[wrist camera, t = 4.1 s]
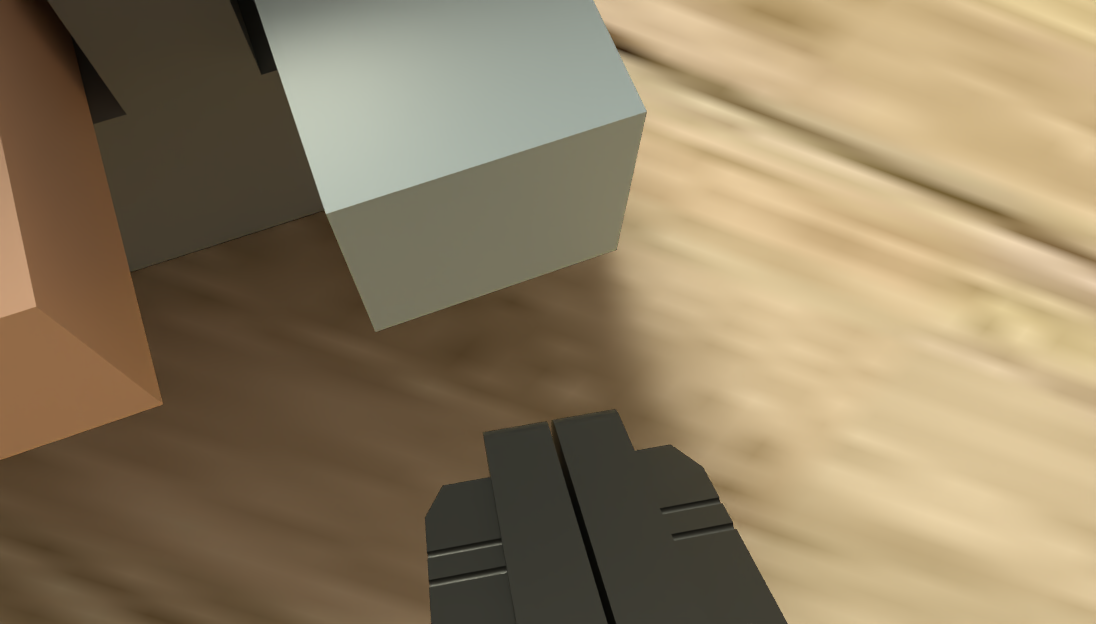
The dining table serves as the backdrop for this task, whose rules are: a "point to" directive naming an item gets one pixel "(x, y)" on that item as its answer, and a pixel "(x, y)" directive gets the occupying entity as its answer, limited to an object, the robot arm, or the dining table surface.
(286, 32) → the grey rectangular block
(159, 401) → the terracotta key
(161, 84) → the keypad console
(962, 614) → the dining table surface
